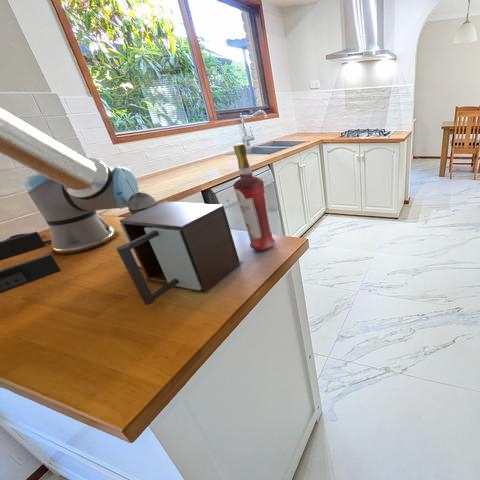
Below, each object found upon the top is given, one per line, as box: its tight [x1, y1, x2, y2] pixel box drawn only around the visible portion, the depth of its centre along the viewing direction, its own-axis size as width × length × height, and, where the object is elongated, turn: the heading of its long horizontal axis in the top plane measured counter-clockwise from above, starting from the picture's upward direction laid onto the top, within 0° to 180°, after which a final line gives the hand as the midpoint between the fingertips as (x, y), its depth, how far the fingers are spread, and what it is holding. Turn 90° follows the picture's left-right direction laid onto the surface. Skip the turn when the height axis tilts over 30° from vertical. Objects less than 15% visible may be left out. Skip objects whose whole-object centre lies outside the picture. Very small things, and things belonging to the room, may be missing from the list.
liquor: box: [232, 142, 276, 252], centre depth 75 cm, size 7×7×28 cm
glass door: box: [116, 227, 202, 306], centre depth 59 cm, size 9×8×14 cm
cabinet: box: [119, 200, 241, 292], centre depth 69 cm, size 18×12×16 cm, turn 71°
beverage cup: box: [125, 179, 158, 215], centre depth 85 cm, size 7×7×20 cm
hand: (48, 249), depth 46 cm, fingers open, 13 cm apart
